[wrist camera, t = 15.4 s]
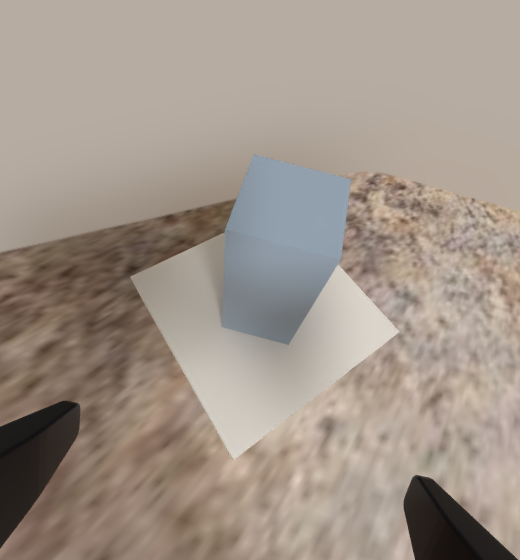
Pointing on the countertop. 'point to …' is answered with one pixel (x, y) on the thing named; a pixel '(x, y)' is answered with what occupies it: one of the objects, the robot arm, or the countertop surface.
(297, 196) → the blue pillar
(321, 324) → the base block
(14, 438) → the robot arm
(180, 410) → the countertop surface
